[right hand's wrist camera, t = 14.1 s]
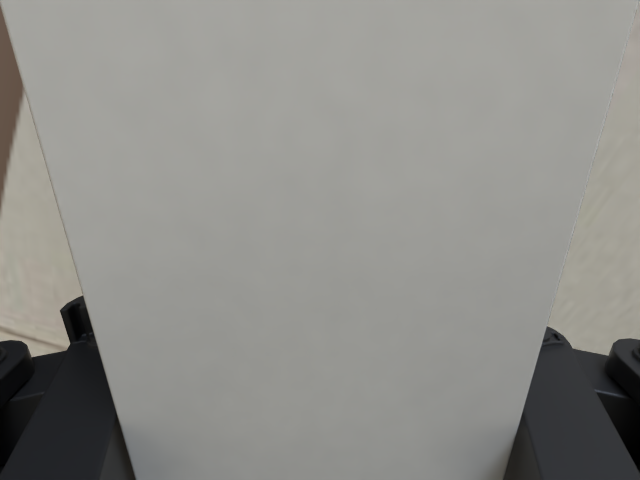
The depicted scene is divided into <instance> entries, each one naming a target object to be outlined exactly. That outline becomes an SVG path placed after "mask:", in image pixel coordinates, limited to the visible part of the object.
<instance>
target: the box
mask: <svg viewBox="0 0 640 480" xmlns="http://www.w3.org/2000/svg"><path fill="white" fill-rule="evenodd" d="M638 3H639V0H0V5H1V9H2V12H3V16H4V19H5V23H6V26H7V30H8V33H9V37H10V40H11V44H12V47H13V51H14V54H15V58H16V61H17V65H18V68H19V72H20V75H21V79H22V82H23V86H24V89H25V93H26V96H27V100H28V103H29V107H30V111H31V114H32V118H33V121H34V125H35V128H36V132H37V135H38V139H39V142H40V146H41V149H42V153H43V156H44V160H45V163H46V167H47V170H48V174H49V177H50V181H51V184H52V188H53V191H54V195H55V198H56V202H57V205H58V209H59V212H60V216H61V219H62V223H63V226H64V230H65V233H66V237H67V240H68V244H69V247H70V251H71V254H72V258H73V261H74V265H75V268H76V272H77V275H78V279H79V282H80V286H81V289H82V293H83V296H84V300H85V303H86V307H87V310H88V314H89V317H90V321H91V324H92V328H93V332H94V335H95V339H96V342H97V346H98V349H99V353H100V356H101V360H102V363H103V367H104V370H105V374H106V377H107V381H108V384H109V388H110V391H111V395H112V398H113V402H114V405H115V409H116V412H117V416H118V419H119V423H120V426H121V430H122V433H123V437H124V440H125V444H126V447H127V451H128V454H129V458H130V461H131V465H132V468H133V472H134V475H135V479H136V480H503V479H504V475H505V472H506V468H507V465H508V461H509V458H510V454H511V451H512V447H513V443H514V440H515V436H516V433H517V429H518V426H519V422H520V419H521V415H522V412H523V408H524V405H525V401H526V398H527V394H528V391H529V387H530V384H531V380H532V377H533V373H534V370H535V366H536V362H537V359H538V355H539V352H540V348H541V345H542V341H543V338H544V334H545V331H546V327H547V324H548V320H549V317H550V313H551V310H552V306H553V303H554V299H555V296H556V292H557V288H558V285H559V281H560V278H561V274H562V271H563V267H564V264H565V260H566V257H567V253H568V250H569V246H570V243H571V239H572V236H573V232H574V229H575V225H576V222H577V218H578V215H579V211H580V207H581V204H582V200H583V197H584V193H585V190H586V186H587V183H588V179H589V176H590V172H591V169H592V165H593V162H594V158H595V155H596V151H597V148H598V144H599V141H600V137H601V133H602V130H603V126H604V123H605V119H606V116H607V112H608V109H609V105H610V102H611V98H612V95H613V91H614V88H615V84H616V81H617V77H618V74H619V70H620V67H621V63H622V60H623V56H624V52H625V49H626V45H627V42H628V38H629V35H630V31H631V28H632V24H633V21H634V17H635V14H636V10H637V7H638Z"/></svg>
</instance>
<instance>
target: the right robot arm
mask: <svg viewBox="0 0 640 480" xmlns="http://www.w3.org/2000/svg"><path fill="white" fill-rule="evenodd" d="M60 312H61V315H62V318H63V322H64V325H65V328H66V331H67V334H68V337H69V340H70V346H69V347H68V349H67V350H66V351H62V352H57V353H52V354H47V355H42V356H37V357H31V354H30V352H29V349H28V346H27V345H26V344H25V343H23V342H22V341H14V340H9V341H1V342H0V480H136V479H135V475H134V472H133V468H132V465H131V461H130V458H129V454H128V451H127V447H126V444H125V440H124V437H123V433H122V430H121V426H120V423H119V419H118V416H117V412H116V409H115V405H114V402H113V398H112V395H111V391H110V388H109V384H108V381H107V377H106V374H105V370H104V367H103V363H102V360H101V356H100V353H99V349H98V346H97V342H96V339H95V335H94V332H93V328H92V324H91V321H90V317H89V314H88V310H87V307H86V303H85V300H84V296H81V297H78V298H76V299H74V300H73V301H71V302H69V303H67V304H66V305H65V306H64V307H63V308H62V309H61V310H60ZM503 480H640V340H637V339H630V338H629V339H619V340H618V341H616V342H615V343H613V345H612V348H611V351H610V353H609V356H607V355H602V354H597V353H591V352H586V351H581V350H576V349H572V347H571V345H570V343H569V342H568V341H567V340H566V338H565V337H564V336H563V335H561V334H560V333H558V332H557V331H555V330H554V329H552V328H550V327H546V331H545V334H544V338H543V341H542V345H541V348H540V352H539V355H538V359H537V362H536V366H535V370H534V373H533V377H532V380H531V384H530V387H529V391H528V394H527V398H526V401H525V405H524V408H523V412H522V415H521V419H520V422H519V426H518V429H517V433H516V436H515V440H514V443H513V447H512V451H511V454H510V458H509V461H508V465H507V468H506V472H505V475H504V479H503Z"/></svg>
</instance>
